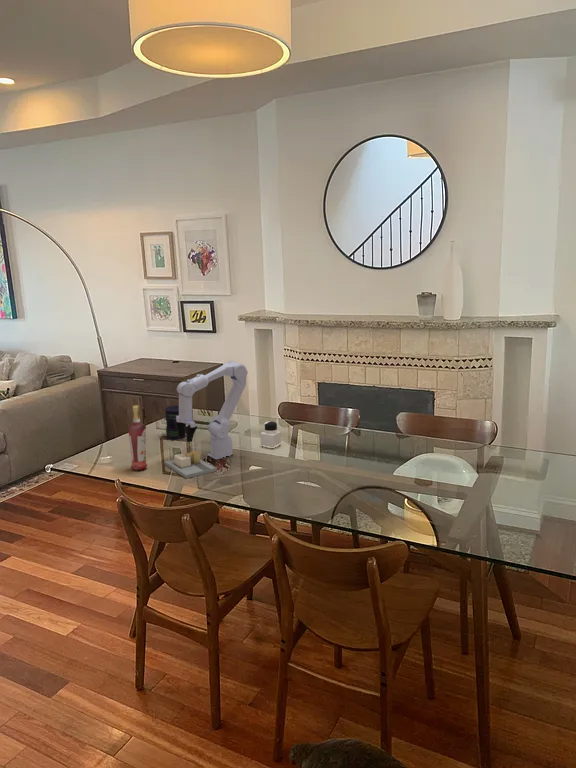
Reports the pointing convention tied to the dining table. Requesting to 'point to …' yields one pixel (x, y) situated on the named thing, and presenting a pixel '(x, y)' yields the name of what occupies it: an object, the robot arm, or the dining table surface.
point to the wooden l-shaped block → (194, 457)
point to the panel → (191, 468)
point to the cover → (182, 460)
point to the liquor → (137, 441)
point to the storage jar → (172, 423)
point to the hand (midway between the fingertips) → (185, 439)
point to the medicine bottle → (270, 434)
